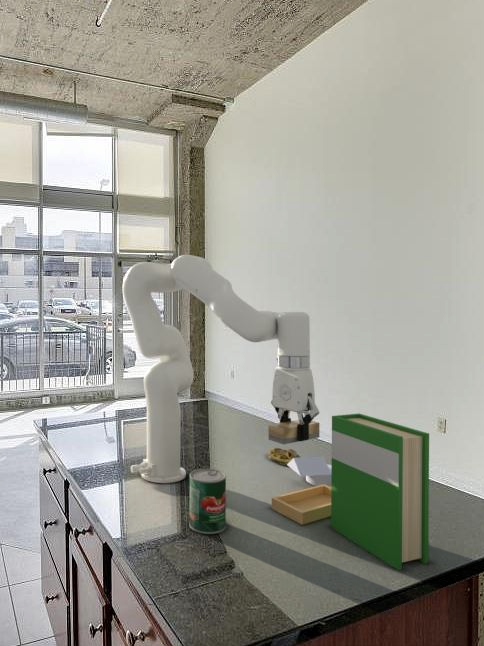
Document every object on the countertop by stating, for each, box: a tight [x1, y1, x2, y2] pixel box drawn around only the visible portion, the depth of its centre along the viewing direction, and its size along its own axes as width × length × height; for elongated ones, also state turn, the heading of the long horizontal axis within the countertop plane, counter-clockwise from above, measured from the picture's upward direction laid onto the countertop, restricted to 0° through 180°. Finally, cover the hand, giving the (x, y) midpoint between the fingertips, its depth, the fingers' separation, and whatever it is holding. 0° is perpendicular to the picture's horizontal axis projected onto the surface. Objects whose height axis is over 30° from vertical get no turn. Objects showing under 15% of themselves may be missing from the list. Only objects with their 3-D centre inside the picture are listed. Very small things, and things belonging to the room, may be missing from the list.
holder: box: [271, 484, 331, 525], centre depth 113 cm, size 18×10×3 cm, turn 120°
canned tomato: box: [188, 468, 227, 535], centre depth 104 cm, size 8×8×11 cm
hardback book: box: [330, 412, 430, 570], centre depth 97 cm, size 18×7×24 cm, turn 21°
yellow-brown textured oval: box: [267, 447, 301, 467], centre depth 149 cm, size 9×5×15 cm
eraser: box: [267, 419, 320, 445], centre depth 117 cm, size 12×5×4 cm, turn 120°
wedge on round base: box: [287, 456, 332, 487], centre depth 131 cm, size 9×7×13 cm
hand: (294, 436), depth 117 cm, fingers closed on eraser, 5 cm apart
